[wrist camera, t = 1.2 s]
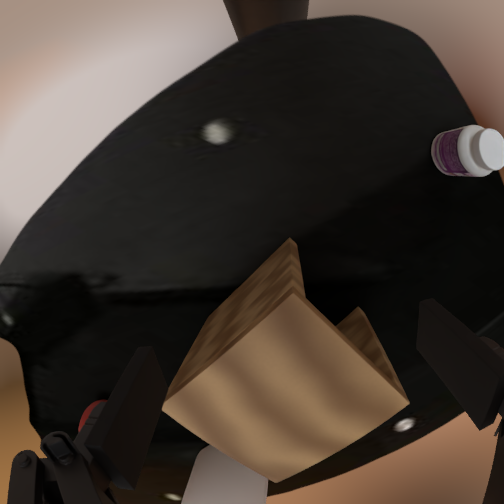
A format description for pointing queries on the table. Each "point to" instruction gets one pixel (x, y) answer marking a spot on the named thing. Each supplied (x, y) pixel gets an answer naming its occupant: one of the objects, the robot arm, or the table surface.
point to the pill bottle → (468, 151)
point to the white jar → (223, 481)
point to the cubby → (282, 376)
